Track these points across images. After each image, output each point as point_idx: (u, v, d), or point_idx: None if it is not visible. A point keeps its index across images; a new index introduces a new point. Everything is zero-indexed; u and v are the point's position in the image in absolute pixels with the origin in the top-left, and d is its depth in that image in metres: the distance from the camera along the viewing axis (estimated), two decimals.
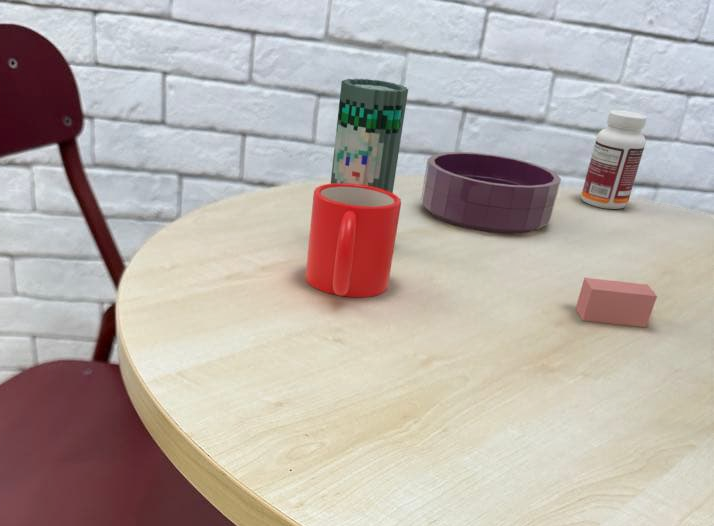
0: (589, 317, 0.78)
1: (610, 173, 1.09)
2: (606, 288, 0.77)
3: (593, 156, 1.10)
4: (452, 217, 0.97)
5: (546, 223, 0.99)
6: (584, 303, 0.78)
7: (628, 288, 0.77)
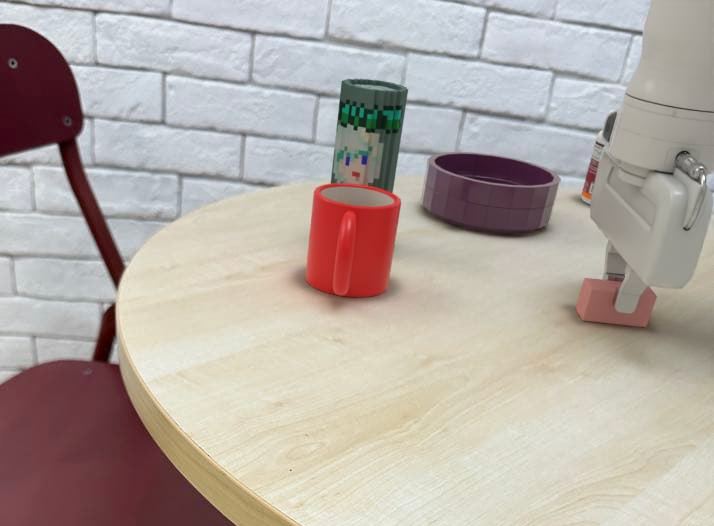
0: (589, 317, 0.78)
1: None
2: (606, 288, 0.77)
3: (593, 156, 1.10)
4: (452, 217, 0.97)
5: (546, 223, 0.99)
6: (584, 303, 0.78)
7: None
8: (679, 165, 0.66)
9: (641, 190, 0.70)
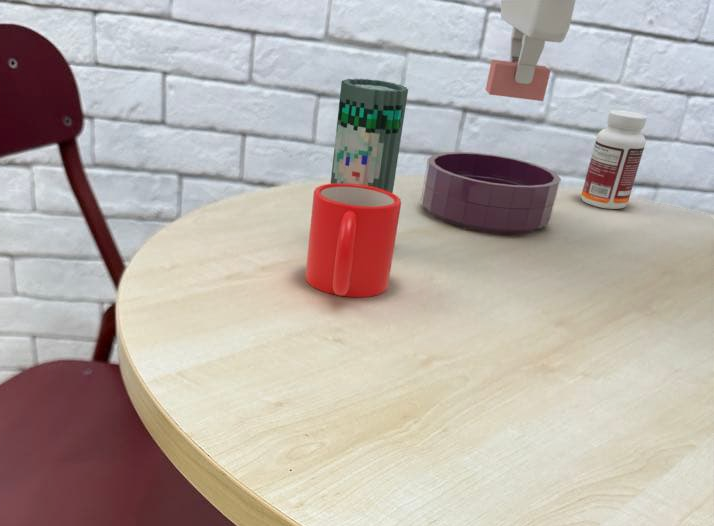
0: (495, 91, 0.92)
1: (610, 173, 1.09)
2: (508, 64, 0.91)
3: (593, 156, 1.10)
4: (452, 217, 0.97)
5: (546, 223, 0.99)
6: (490, 79, 0.92)
7: None
8: None
9: None
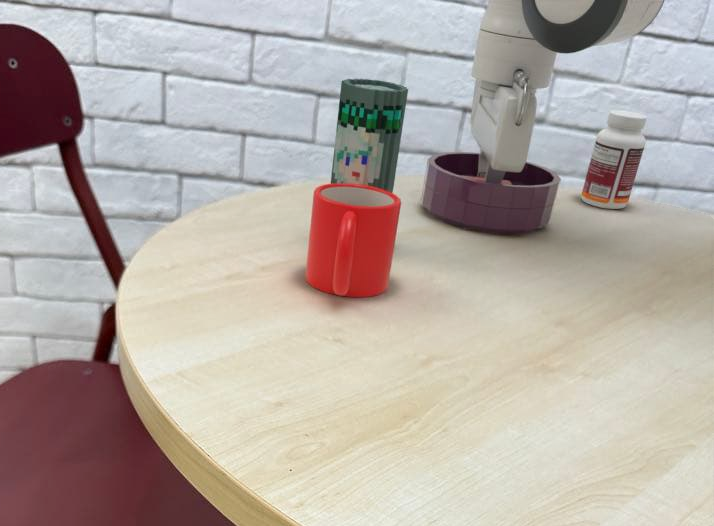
0: None
1: (610, 173, 1.09)
2: None
3: (593, 156, 1.10)
4: (452, 217, 0.97)
5: (546, 223, 0.99)
6: None
7: None
8: (514, 79, 0.90)
9: (493, 101, 0.94)
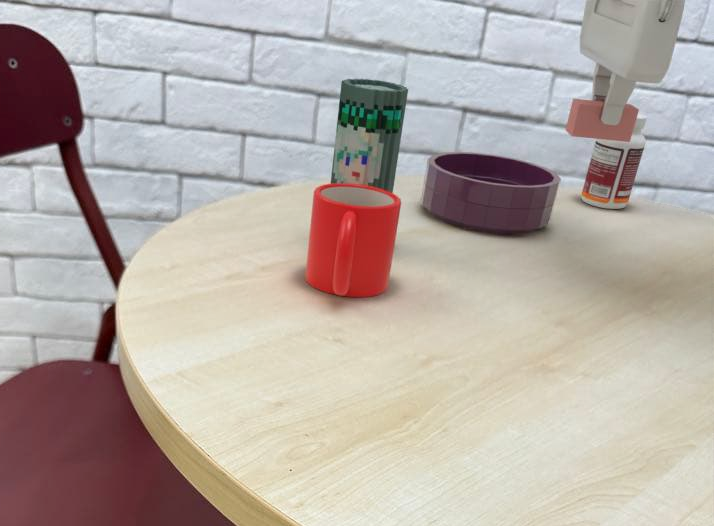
0: (577, 133, 0.86)
1: (610, 173, 1.09)
2: (592, 104, 0.84)
3: (593, 156, 1.10)
4: (452, 217, 0.97)
5: (546, 223, 0.99)
6: (573, 120, 0.86)
7: None
8: None
9: (623, 0, 0.78)
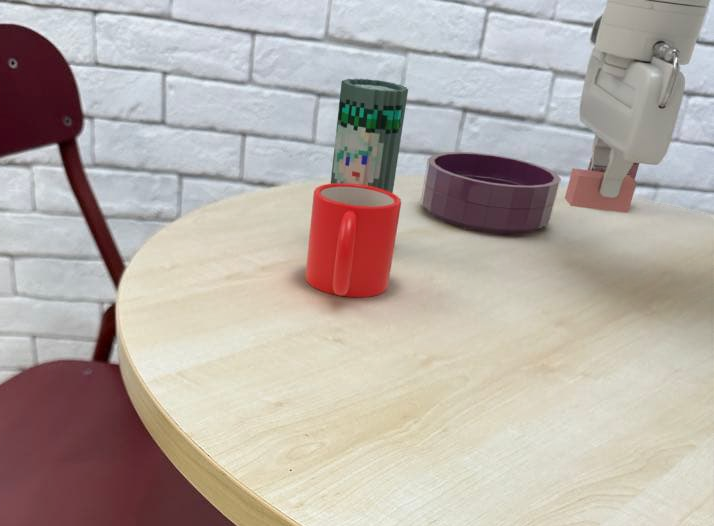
0: (577, 203, 0.87)
1: None
2: (591, 175, 0.86)
3: None
4: (452, 217, 0.97)
5: (546, 223, 0.99)
6: (572, 190, 0.87)
7: None
8: (656, 53, 0.76)
9: (623, 80, 0.79)
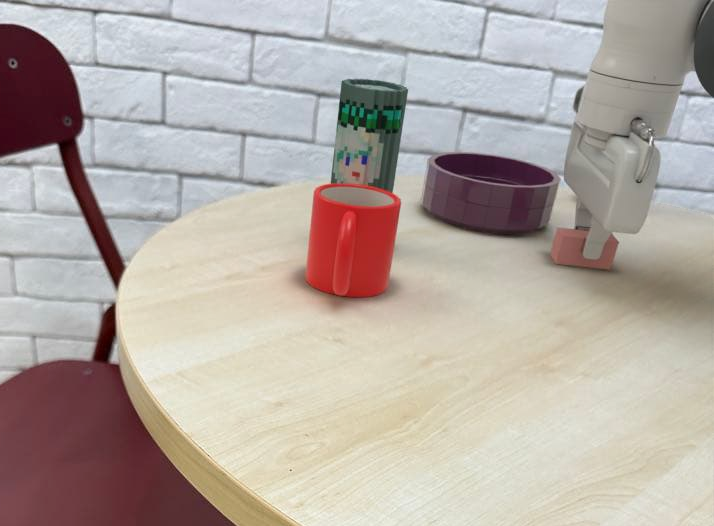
0: (561, 261, 0.91)
1: None
2: (575, 235, 0.90)
3: None
4: (452, 217, 0.97)
5: (546, 223, 0.99)
6: (557, 249, 0.91)
7: None
8: (633, 129, 0.79)
9: (603, 152, 0.83)
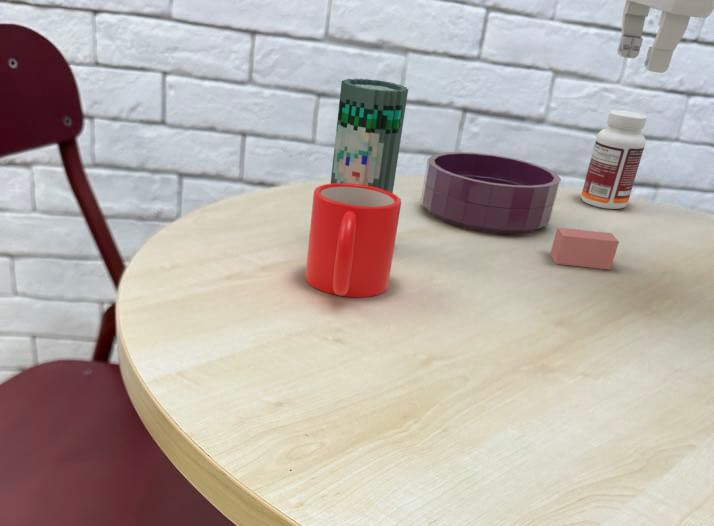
0: (561, 261, 0.91)
1: (610, 173, 1.09)
2: (575, 235, 0.90)
3: (593, 156, 1.10)
4: (452, 217, 0.97)
5: (546, 223, 0.99)
6: (557, 249, 0.91)
7: (595, 235, 0.90)
8: None
9: None
